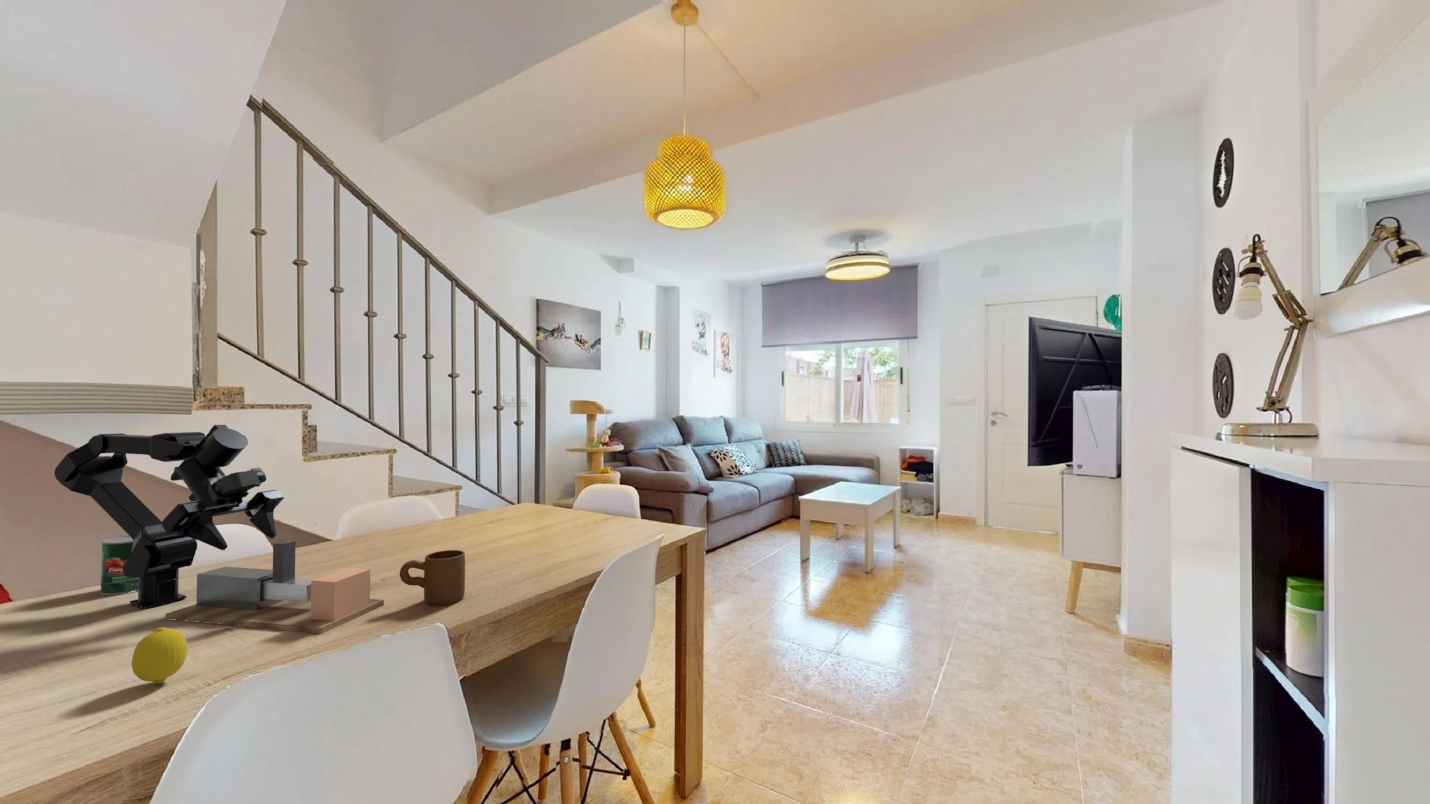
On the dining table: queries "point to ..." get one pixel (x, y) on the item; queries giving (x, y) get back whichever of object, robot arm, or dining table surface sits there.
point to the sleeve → (233, 588)
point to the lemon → (159, 655)
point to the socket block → (340, 593)
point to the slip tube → (285, 577)
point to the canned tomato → (116, 566)
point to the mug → (439, 576)
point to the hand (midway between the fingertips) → (250, 542)
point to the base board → (269, 616)
